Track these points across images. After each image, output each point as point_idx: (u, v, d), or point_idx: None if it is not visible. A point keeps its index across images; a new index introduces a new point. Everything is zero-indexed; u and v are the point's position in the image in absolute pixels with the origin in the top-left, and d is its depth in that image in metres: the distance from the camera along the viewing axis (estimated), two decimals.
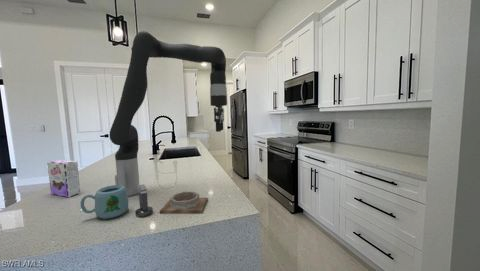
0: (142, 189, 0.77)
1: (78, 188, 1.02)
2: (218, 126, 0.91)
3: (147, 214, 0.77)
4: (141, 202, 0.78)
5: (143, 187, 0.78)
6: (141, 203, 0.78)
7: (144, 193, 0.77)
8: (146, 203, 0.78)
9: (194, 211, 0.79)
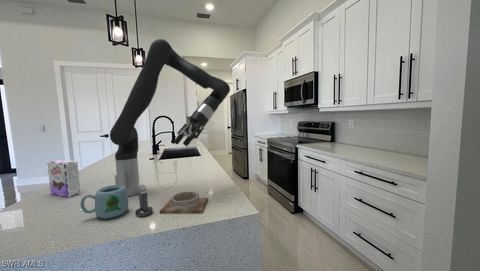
0: (142, 189, 0.77)
1: (78, 188, 1.02)
2: (189, 141, 0.86)
3: (147, 214, 0.77)
4: (141, 202, 0.78)
5: (143, 187, 0.78)
6: (141, 203, 0.78)
7: (144, 193, 0.77)
8: (146, 203, 0.78)
9: (194, 211, 0.79)
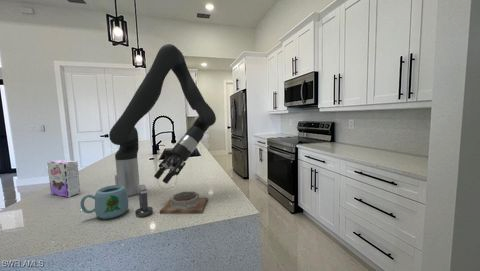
0: (142, 189, 0.77)
1: (78, 188, 1.02)
2: (169, 178, 0.80)
3: (147, 214, 0.77)
4: (141, 202, 0.78)
5: (143, 187, 0.78)
6: (141, 203, 0.78)
7: (144, 193, 0.77)
8: (146, 203, 0.78)
9: (194, 211, 0.79)
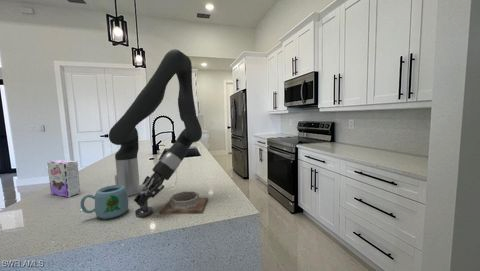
0: (142, 189, 0.77)
1: (78, 188, 1.02)
2: (145, 200, 0.76)
3: (147, 214, 0.77)
4: None
5: (143, 187, 0.78)
6: None
7: (144, 193, 0.77)
8: (146, 203, 0.78)
9: (194, 211, 0.79)
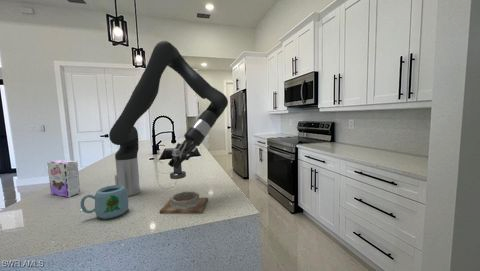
0: (176, 152, 0.80)
1: (78, 188, 1.02)
2: (180, 163, 0.80)
3: (181, 176, 0.80)
4: None
5: (177, 150, 0.81)
6: None
7: (178, 156, 0.80)
8: (180, 166, 0.81)
9: (194, 211, 0.79)
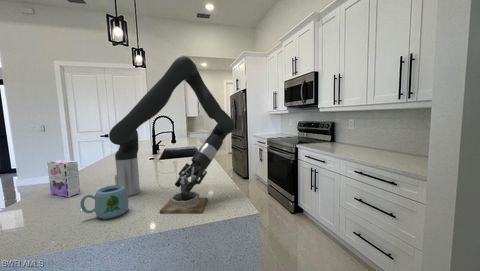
0: (185, 180, 0.83)
1: (78, 188, 1.02)
2: (191, 187, 0.80)
3: None
4: (183, 192, 0.83)
5: (185, 178, 0.83)
6: (183, 193, 0.83)
7: (186, 184, 0.83)
8: (188, 193, 0.83)
9: (194, 211, 0.79)
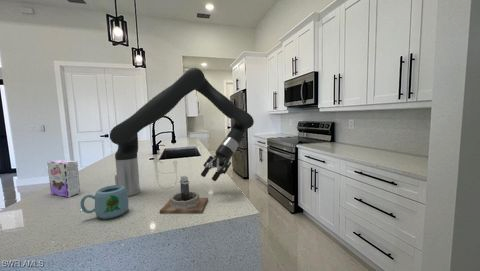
0: (184, 180, 0.83)
1: (78, 188, 1.02)
2: (218, 176, 0.88)
3: None
4: (183, 192, 0.83)
5: (185, 178, 0.83)
6: (183, 193, 0.83)
7: (186, 184, 0.83)
8: (188, 193, 0.83)
9: (194, 211, 0.79)
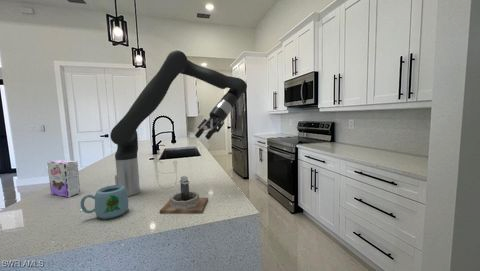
0: (184, 180, 0.83)
1: (78, 188, 1.02)
2: (211, 134, 0.91)
3: None
4: (183, 192, 0.83)
5: (185, 178, 0.83)
6: (183, 193, 0.83)
7: (186, 184, 0.83)
8: (188, 193, 0.83)
9: (194, 211, 0.79)
